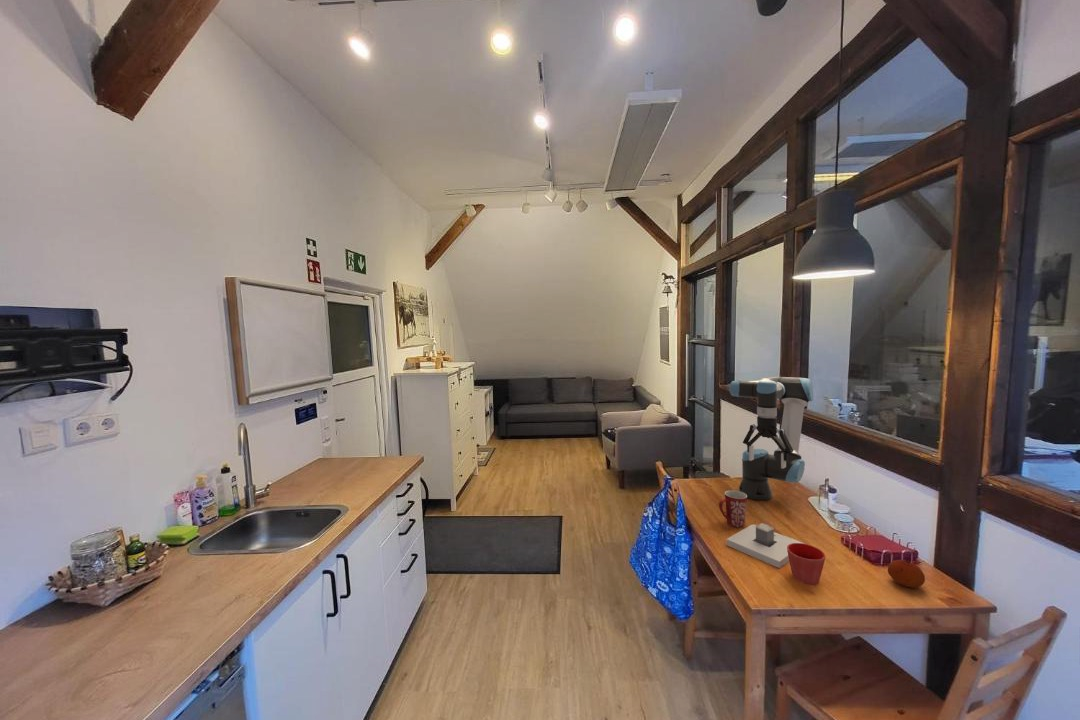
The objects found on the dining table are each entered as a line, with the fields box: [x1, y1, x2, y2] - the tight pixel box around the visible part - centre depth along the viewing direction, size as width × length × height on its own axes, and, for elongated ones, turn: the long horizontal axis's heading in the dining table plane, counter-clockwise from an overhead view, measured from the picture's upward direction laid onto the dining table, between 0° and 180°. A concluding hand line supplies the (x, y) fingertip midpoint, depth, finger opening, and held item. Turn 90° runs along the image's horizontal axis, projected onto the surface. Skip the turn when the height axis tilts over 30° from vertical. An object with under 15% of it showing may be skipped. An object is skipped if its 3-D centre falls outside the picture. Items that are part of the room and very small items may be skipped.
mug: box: [718, 489, 748, 528], centre depth 176 cm, size 13×9×14 cm
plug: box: [756, 522, 775, 547], centre depth 157 cm, size 5×5×8 cm
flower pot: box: [787, 542, 826, 586], centre depth 137 cm, size 11×11×10 cm
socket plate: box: [726, 523, 806, 569], centre depth 157 cm, size 20×20×3 cm
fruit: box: [887, 559, 926, 589], centre depth 132 cm, size 9×9×8 cm
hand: (767, 463), depth 176 cm, fingers open, 13 cm apart
